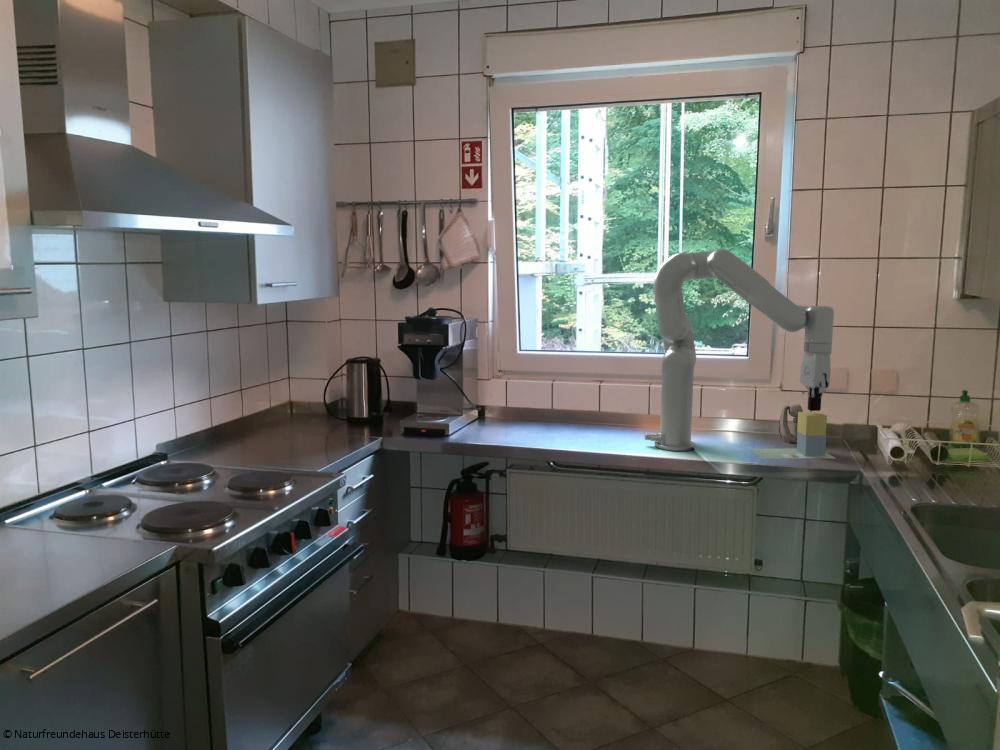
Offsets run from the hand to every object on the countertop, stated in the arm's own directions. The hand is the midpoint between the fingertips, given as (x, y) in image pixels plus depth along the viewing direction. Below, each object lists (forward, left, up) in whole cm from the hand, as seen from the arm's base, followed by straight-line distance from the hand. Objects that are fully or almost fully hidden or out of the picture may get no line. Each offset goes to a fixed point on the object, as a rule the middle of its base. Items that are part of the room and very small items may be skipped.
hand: (814, 410), depth 229 cm
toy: (+2, +17, -15) cm, 23 cm away
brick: (0, 0, -7) cm, 7 cm away
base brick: (0, 0, -13) cm, 13 cm away
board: (-6, 0, -14) cm, 16 cm away
